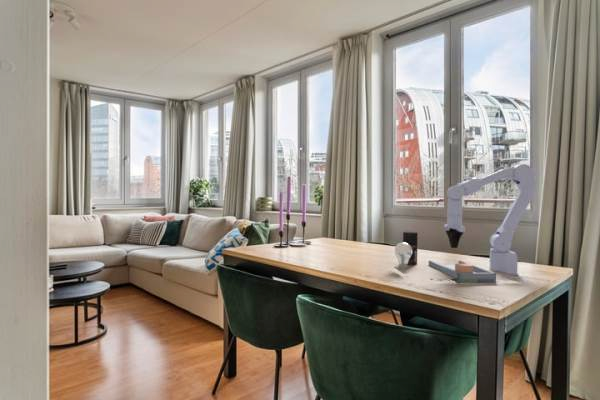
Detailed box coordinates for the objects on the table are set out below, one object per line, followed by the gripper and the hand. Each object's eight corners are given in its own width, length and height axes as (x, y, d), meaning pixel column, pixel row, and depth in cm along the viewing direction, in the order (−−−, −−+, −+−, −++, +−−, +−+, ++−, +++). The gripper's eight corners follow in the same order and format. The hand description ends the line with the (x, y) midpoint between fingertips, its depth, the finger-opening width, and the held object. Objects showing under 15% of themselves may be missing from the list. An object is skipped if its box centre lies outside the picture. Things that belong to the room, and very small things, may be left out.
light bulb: (393, 272, 151) (393, 242, 151) (395, 269, 158) (395, 240, 157) (411, 274, 149) (411, 243, 148) (412, 270, 155) (413, 241, 155)
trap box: (460, 268, 161) (460, 260, 161) (496, 283, 135) (496, 273, 135) (428, 268, 160) (428, 260, 160) (457, 283, 134) (458, 273, 134)
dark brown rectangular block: (414, 269, 158) (415, 233, 158) (400, 267, 161) (401, 232, 161) (418, 266, 163) (419, 232, 163) (405, 265, 166) (405, 231, 166)
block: (466, 275, 140) (467, 263, 140) (473, 278, 135) (473, 265, 135) (455, 275, 140) (455, 263, 139) (460, 278, 135) (461, 265, 135)
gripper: (437, 213, 163) (437, 245, 163) (453, 216, 148) (452, 250, 149) (453, 213, 163) (453, 245, 164) (470, 216, 149) (470, 250, 149)
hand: (454, 247), depth 156 cm, fingers closed
